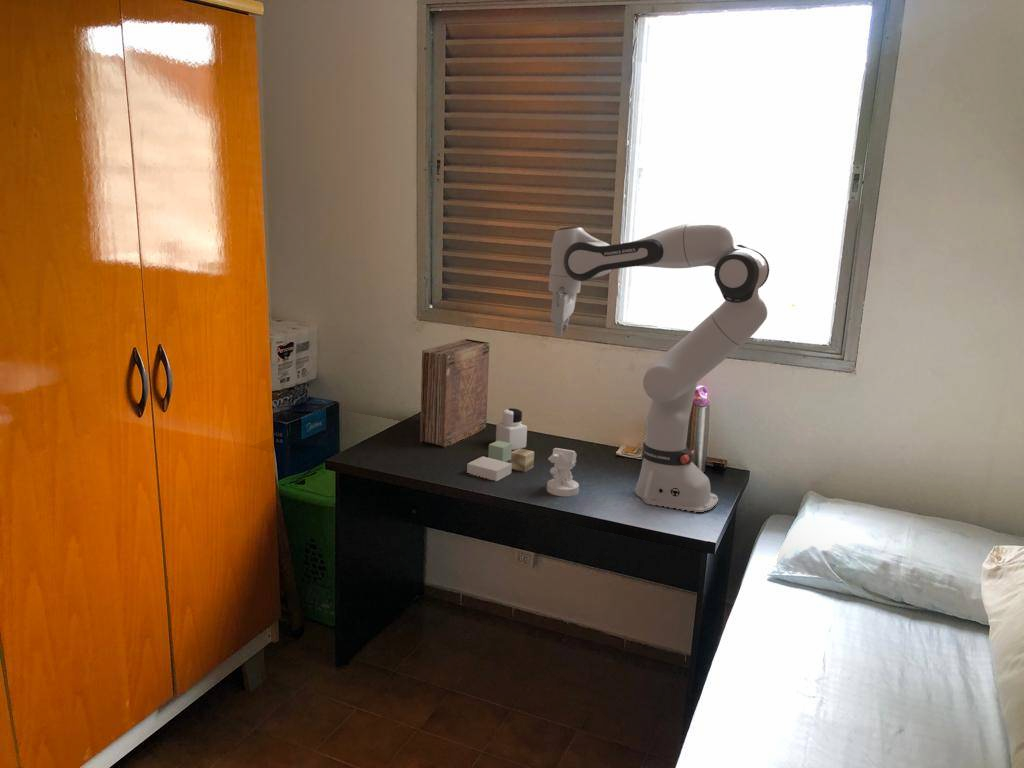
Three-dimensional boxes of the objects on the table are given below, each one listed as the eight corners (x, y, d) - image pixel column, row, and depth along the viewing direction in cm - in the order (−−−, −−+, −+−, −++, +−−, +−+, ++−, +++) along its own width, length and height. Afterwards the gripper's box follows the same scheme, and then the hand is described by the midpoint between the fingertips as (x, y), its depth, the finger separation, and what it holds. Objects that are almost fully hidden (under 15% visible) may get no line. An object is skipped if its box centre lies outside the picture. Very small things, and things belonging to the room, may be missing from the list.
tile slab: (511, 473, 235) (511, 463, 234) (496, 481, 228) (496, 471, 227) (482, 465, 240) (482, 456, 239) (467, 473, 233) (467, 463, 232)
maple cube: (533, 467, 241) (534, 451, 240) (524, 472, 237) (525, 456, 235) (518, 464, 243) (519, 448, 242) (510, 468, 239) (511, 452, 238)
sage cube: (511, 459, 247) (511, 443, 246) (502, 463, 243) (503, 447, 241) (497, 456, 249) (497, 440, 248) (488, 460, 245) (488, 444, 244)
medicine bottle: (512, 441, 264) (514, 405, 261) (526, 447, 258) (528, 411, 255) (495, 444, 259) (496, 408, 256) (508, 451, 254) (510, 414, 251)
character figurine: (542, 493, 221) (545, 451, 218) (553, 481, 230) (555, 441, 227) (573, 498, 219) (576, 456, 216) (583, 486, 227) (585, 446, 224)
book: (443, 448, 253) (446, 354, 246) (419, 443, 258) (421, 350, 250) (486, 429, 275) (489, 342, 267) (463, 424, 279) (466, 338, 272)
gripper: (570, 290, 216) (566, 341, 220) (580, 282, 236) (577, 329, 239) (547, 288, 218) (543, 339, 221) (559, 280, 237) (555, 327, 240)
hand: (561, 333), depth 230 cm, fingers open, 8 cm apart
